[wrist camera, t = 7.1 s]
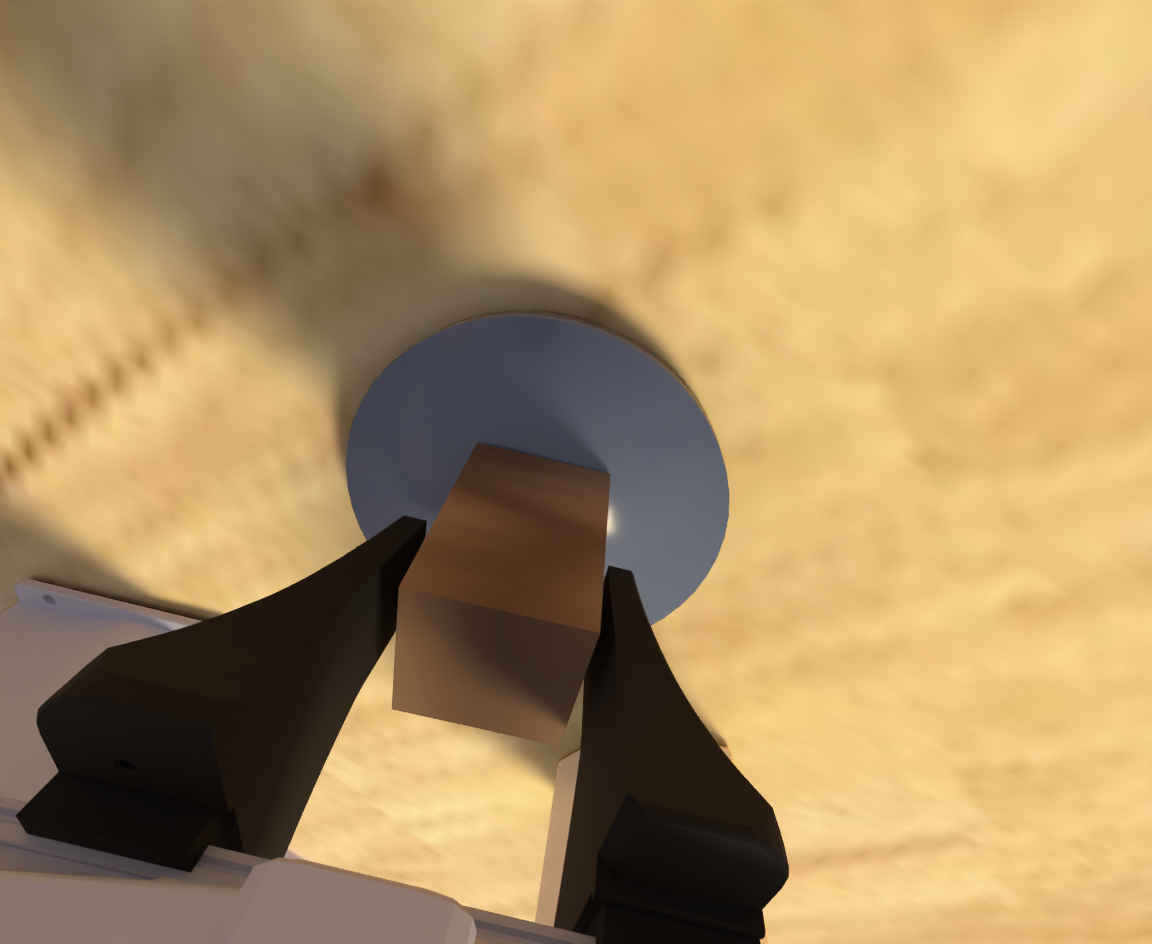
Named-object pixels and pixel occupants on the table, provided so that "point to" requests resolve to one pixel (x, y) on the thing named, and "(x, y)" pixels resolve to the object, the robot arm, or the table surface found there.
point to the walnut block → (505, 597)
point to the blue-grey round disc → (550, 437)
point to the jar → (564, 838)
